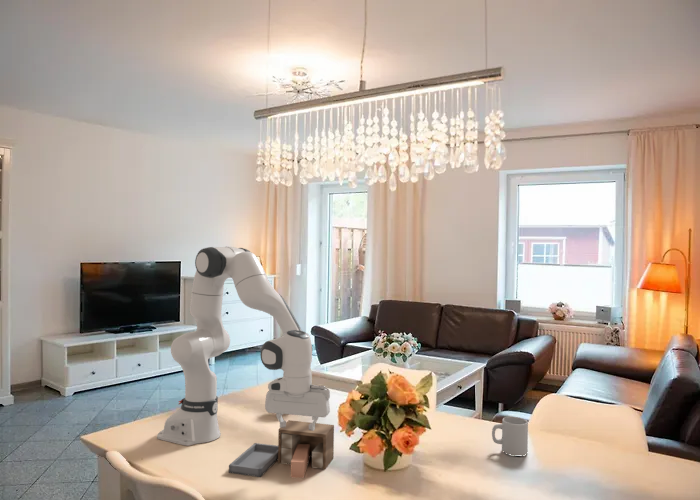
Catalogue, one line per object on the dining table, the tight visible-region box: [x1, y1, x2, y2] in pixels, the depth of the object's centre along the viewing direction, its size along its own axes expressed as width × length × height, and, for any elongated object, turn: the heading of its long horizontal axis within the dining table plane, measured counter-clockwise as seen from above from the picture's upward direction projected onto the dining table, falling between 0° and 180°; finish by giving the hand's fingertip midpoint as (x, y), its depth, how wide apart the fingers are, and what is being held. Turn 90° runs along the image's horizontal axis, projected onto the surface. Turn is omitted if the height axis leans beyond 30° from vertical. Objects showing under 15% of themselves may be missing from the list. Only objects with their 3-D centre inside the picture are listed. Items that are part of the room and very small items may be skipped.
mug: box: [491, 416, 529, 455], centre depth 178 cm, size 12×8×11 cm
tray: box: [228, 442, 278, 478], centre depth 165 cm, size 11×19×2 cm, turn 166°
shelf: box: [277, 419, 335, 470], centre depth 168 cm, size 16×9×11 cm, turn 76°
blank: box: [290, 444, 311, 479], centre depth 162 cm, size 4×14×5 cm, turn 177°
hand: (297, 428), depth 158 cm, fingers open, 8 cm apart
